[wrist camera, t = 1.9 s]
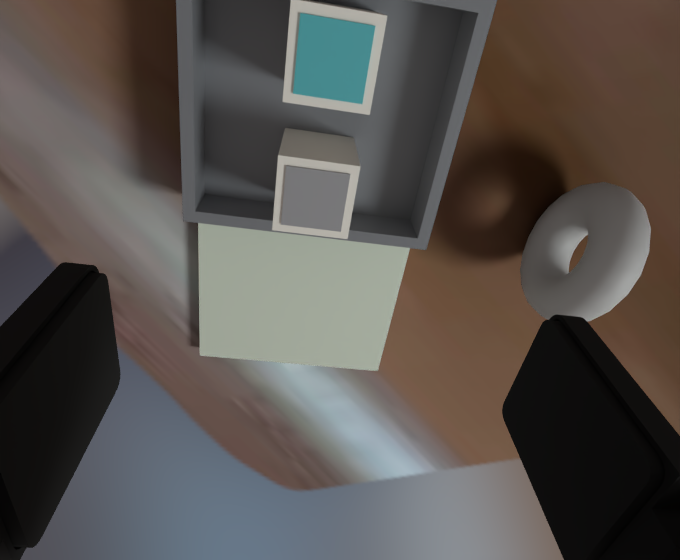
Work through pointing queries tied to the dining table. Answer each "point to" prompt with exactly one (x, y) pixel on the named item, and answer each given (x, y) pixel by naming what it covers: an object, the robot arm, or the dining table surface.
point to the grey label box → (315, 184)
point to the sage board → (295, 297)
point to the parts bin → (324, 112)
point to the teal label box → (332, 56)
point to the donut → (598, 259)
